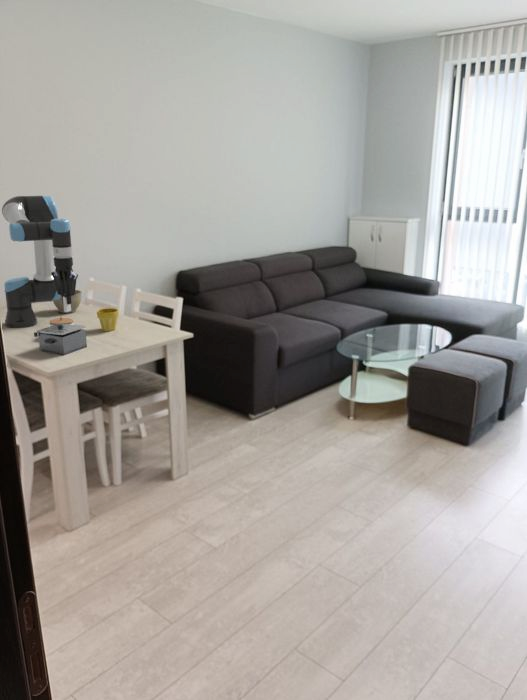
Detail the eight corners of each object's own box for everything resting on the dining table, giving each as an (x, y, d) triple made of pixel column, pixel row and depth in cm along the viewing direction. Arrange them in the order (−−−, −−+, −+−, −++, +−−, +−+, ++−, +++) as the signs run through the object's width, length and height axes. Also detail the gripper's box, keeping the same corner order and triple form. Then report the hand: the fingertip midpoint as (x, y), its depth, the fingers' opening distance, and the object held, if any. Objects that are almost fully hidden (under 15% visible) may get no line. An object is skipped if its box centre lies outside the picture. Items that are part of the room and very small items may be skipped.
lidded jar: (61, 340, 268) (59, 321, 265) (46, 337, 273) (44, 317, 270) (79, 335, 277) (77, 316, 274) (64, 332, 282) (62, 313, 279)
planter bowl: (77, 315, 315) (76, 295, 311) (48, 314, 315) (46, 295, 312) (86, 308, 330) (85, 289, 327) (58, 307, 330) (57, 289, 327)
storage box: (34, 351, 252) (32, 332, 249) (63, 341, 267) (62, 323, 264) (61, 356, 246) (59, 337, 243) (89, 345, 260) (87, 328, 258)
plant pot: (114, 332, 282) (112, 313, 279) (94, 331, 284) (93, 312, 281) (123, 327, 292) (121, 308, 289) (104, 326, 293) (102, 307, 291)
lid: (36, 333, 251) (35, 327, 250) (59, 326, 263) (58, 320, 262) (62, 336, 244) (61, 330, 244) (85, 328, 256) (84, 322, 256)
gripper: (44, 256, 241) (49, 311, 249) (68, 259, 236) (73, 315, 243) (57, 254, 248) (62, 307, 255) (81, 256, 242) (85, 311, 250)
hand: (67, 311), depth 249 cm, fingers closed
